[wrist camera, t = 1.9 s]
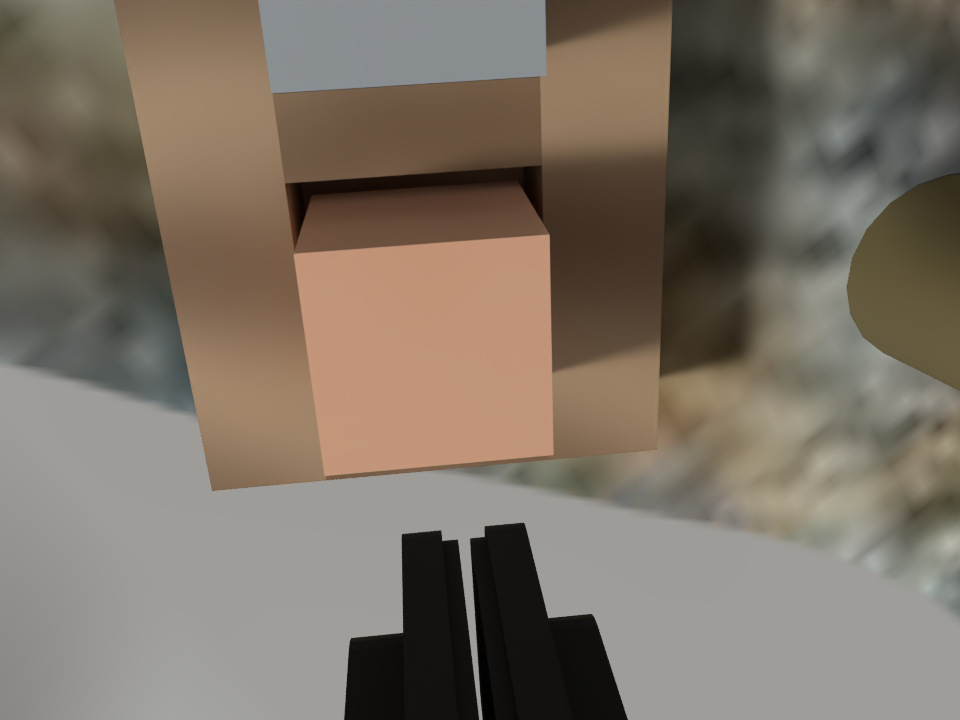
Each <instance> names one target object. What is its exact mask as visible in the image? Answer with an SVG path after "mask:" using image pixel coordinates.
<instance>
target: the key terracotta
mask: <svg viewBox="0 0 960 720" xmlns="http://www.w3.org/2000/svg"><path fill="white" fill-rule="evenodd" d="M294 261H295V268H296V275H297V283H298V290H299V297H300V304H301V311H302V318H303V326H304V333H305V340H306V347H307V354H308V361H309V369H310V376H311V383H312V390H313V397H314V404H315V412H316V419H317V426H318V433H319V440H320V447H321V455H322V462H323V469H324V476H331V475H342V474H353V473H364V472H375V471H385V470H396V469H407V468H418V467H429V466H440V465H451V464H462V463H473V462H483V461H494V460H505V459H516V458H527V457H538V456H549V455H554V450H553V395H552V341H551V286H550V234H549V233H548V231H547V229H546V228H545V226H544V224H543V223H542V221H541V219H540V218H539V216H538V214H537V213H536V211H535V209H534V208H533V206H532V204H531V203H530V201H529V199H528V198H527V196H526V194H525V193H524V191H523V189H522V188H521V186H520V184H519V183H518V181H517V180H516V181H502V182H488V183H473V184H459V185H445V186H431V187H417V188H403V189H389V190H375V191H361V192H347V193H333V194H319V195H312V196H311V200H310V203H309V206H308V209H307V212H306V216H305V219H304V222H303V225H302V228H301V231H300V235H299V238H298V241H297V244H296V247H295V251H294Z"/></svg>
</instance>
